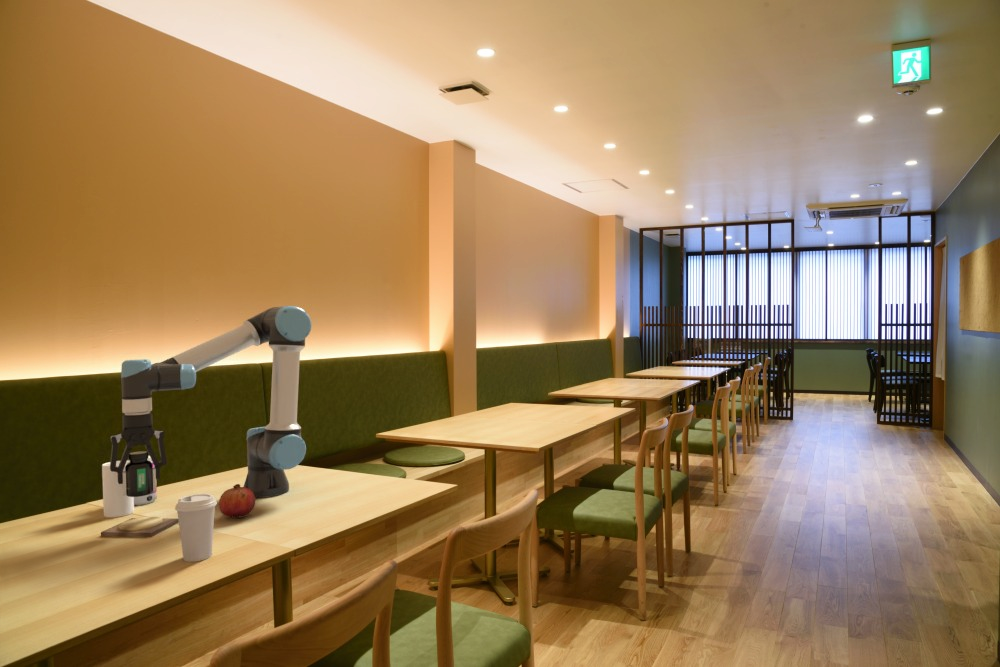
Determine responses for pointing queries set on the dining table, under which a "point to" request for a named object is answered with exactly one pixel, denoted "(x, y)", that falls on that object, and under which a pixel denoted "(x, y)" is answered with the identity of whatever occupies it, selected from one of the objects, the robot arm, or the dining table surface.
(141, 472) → the supplement bottle
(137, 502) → the supplement can
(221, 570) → the dining table surface
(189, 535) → the coffee cup
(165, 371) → the robot arm
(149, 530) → the walnut board
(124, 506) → the cup
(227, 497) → the fruit
